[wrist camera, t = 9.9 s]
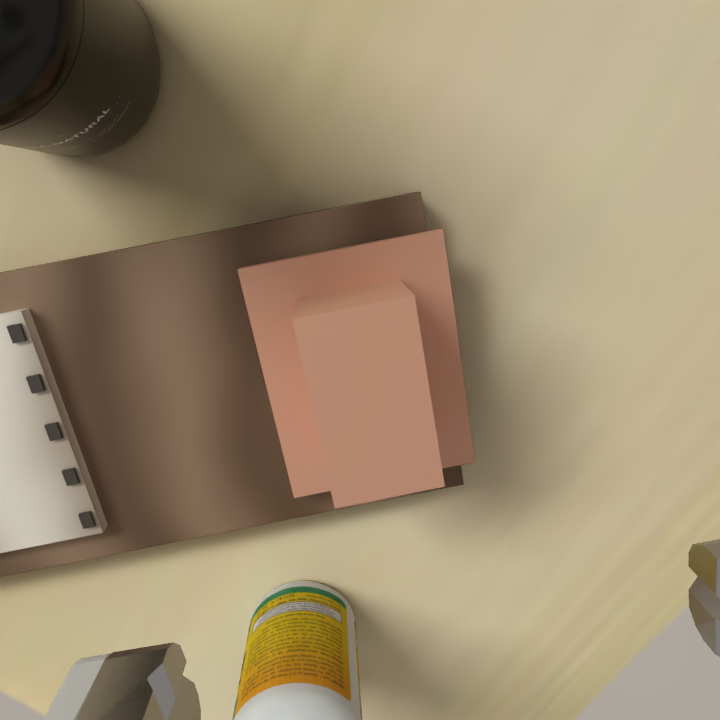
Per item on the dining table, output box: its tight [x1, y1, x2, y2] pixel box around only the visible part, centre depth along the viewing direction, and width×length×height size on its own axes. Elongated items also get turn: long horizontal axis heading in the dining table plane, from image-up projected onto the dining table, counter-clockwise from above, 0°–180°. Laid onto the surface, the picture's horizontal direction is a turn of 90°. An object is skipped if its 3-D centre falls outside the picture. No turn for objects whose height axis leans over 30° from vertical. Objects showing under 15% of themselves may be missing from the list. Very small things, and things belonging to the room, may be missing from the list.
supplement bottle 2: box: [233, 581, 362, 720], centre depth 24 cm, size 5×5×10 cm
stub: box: [237, 229, 475, 508], centre depth 21 cm, size 8×10×5 cm
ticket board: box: [0, 192, 463, 577], centre depth 24 cm, size 28×13×2 cm, turn 101°
